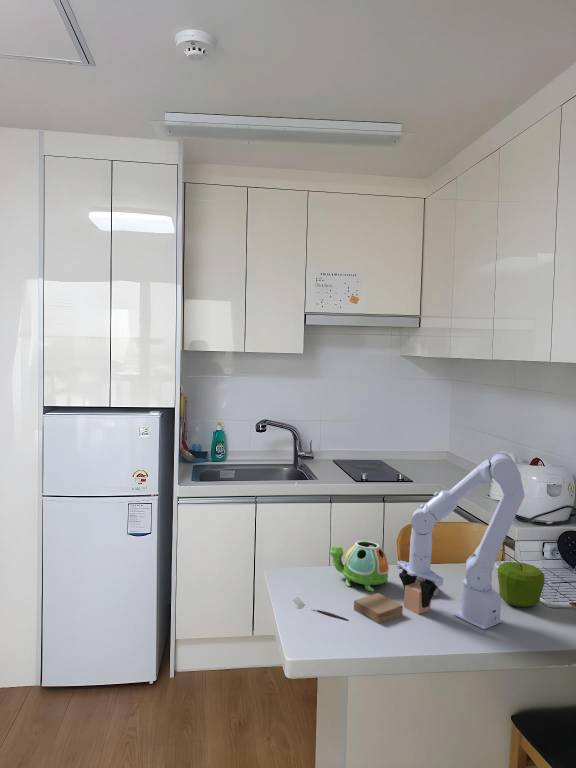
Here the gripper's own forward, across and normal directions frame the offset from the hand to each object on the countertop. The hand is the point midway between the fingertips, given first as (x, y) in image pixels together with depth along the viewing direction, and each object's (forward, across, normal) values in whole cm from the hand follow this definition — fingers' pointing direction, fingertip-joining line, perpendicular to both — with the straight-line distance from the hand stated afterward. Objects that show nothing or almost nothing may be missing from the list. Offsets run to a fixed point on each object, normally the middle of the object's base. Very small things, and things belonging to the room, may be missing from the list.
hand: (417, 602), depth 159 cm
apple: (+2, +13, +28) cm, 31 cm away
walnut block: (+2, -4, -11) cm, 12 cm away
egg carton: (+2, -8, +11) cm, 14 cm away
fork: (+2, -12, -24) cm, 27 cm away
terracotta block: (+2, 0, 0) cm, 2 cm away
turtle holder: (+2, -21, -1) cm, 21 cm away
